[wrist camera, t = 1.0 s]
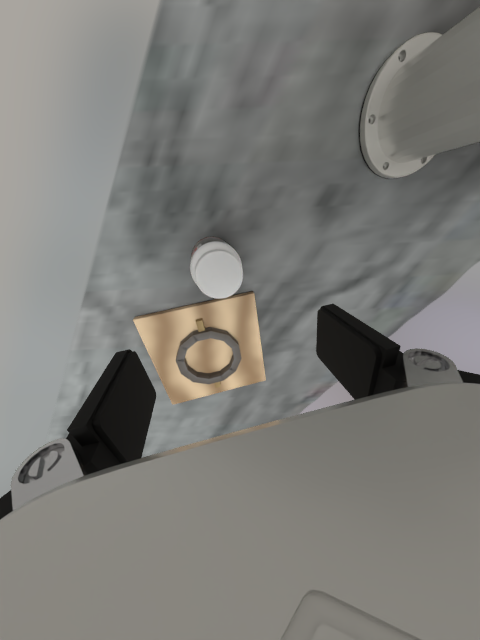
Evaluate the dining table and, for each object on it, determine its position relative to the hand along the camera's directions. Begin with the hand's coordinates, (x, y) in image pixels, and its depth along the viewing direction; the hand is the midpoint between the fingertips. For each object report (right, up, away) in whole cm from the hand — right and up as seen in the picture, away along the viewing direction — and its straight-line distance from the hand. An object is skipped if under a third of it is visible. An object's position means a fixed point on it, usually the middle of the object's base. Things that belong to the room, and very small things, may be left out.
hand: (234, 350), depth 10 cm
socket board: (-5, -4, +24) cm, 25 cm away
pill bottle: (-4, +10, +18) cm, 21 cm away
